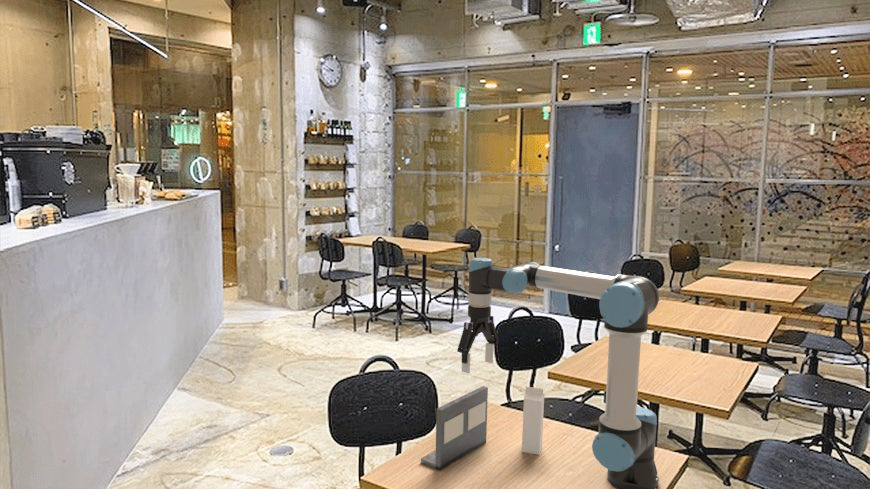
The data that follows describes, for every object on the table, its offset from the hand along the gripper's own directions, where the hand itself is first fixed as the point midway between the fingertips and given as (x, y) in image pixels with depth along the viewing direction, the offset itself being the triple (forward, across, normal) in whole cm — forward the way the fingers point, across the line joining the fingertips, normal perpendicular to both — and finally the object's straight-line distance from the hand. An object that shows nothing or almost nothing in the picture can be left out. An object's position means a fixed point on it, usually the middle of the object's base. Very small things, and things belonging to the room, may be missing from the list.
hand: (477, 367), depth 209 cm
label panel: (+29, +7, -4) cm, 30 cm away
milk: (+29, -12, +15) cm, 35 cm away
